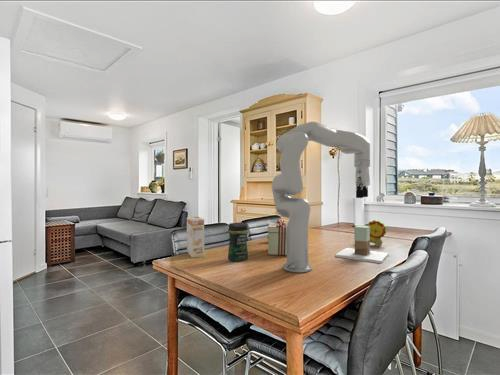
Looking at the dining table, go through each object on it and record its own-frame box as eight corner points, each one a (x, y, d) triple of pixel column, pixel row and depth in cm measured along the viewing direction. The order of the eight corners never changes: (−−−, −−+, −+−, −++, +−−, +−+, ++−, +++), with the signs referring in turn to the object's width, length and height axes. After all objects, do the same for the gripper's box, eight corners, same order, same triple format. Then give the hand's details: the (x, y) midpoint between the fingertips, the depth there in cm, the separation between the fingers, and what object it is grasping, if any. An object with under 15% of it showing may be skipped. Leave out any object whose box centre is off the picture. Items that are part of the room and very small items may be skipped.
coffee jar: (232, 263, 138) (232, 224, 138) (226, 259, 145) (225, 222, 145) (250, 260, 143) (250, 222, 143) (243, 256, 150) (242, 221, 150)
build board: (381, 263, 135) (381, 260, 135) (335, 256, 148) (335, 254, 148) (388, 255, 150) (388, 252, 150) (346, 249, 163) (346, 247, 163)
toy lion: (357, 244, 177) (357, 219, 176) (359, 242, 181) (359, 218, 181) (385, 247, 168) (385, 221, 168) (386, 245, 173) (386, 220, 172)
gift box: (303, 255, 151) (303, 222, 151) (267, 255, 151) (267, 223, 151) (298, 248, 168) (298, 218, 168) (266, 248, 168) (266, 218, 168)
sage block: (366, 241, 145) (366, 227, 145) (354, 240, 148) (354, 226, 148) (369, 239, 150) (369, 226, 149) (357, 238, 153) (357, 225, 153)
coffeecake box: (205, 256, 151) (204, 219, 150) (191, 258, 148) (190, 220, 148) (199, 250, 165) (198, 216, 164) (186, 251, 162) (186, 216, 162)
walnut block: (366, 255, 145) (366, 241, 145) (354, 253, 148) (354, 240, 148) (369, 253, 150) (369, 239, 150) (357, 251, 153) (357, 238, 153)
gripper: (365, 162, 139) (365, 198, 139) (373, 164, 153) (373, 196, 153) (349, 163, 143) (349, 198, 144) (359, 165, 157) (359, 196, 158)
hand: (362, 197), depth 148 cm, fingers open, 9 cm apart
